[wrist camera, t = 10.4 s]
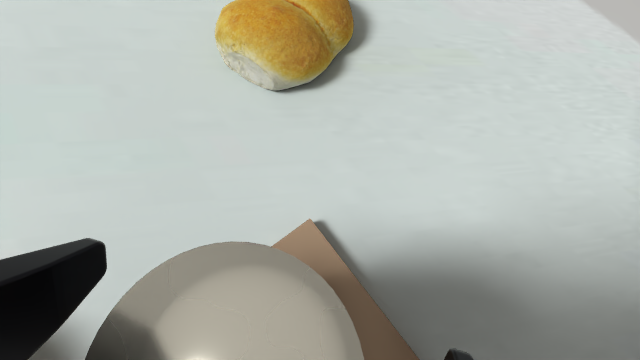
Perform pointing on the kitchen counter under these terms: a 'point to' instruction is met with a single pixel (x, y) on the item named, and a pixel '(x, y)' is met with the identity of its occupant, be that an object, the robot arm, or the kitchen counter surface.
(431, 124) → the kitchen counter surface
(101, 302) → the kitchen counter surface
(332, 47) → the bread roll
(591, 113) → the kitchen counter surface
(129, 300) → the tea tin
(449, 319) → the kitchen counter surface
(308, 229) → the coaster
